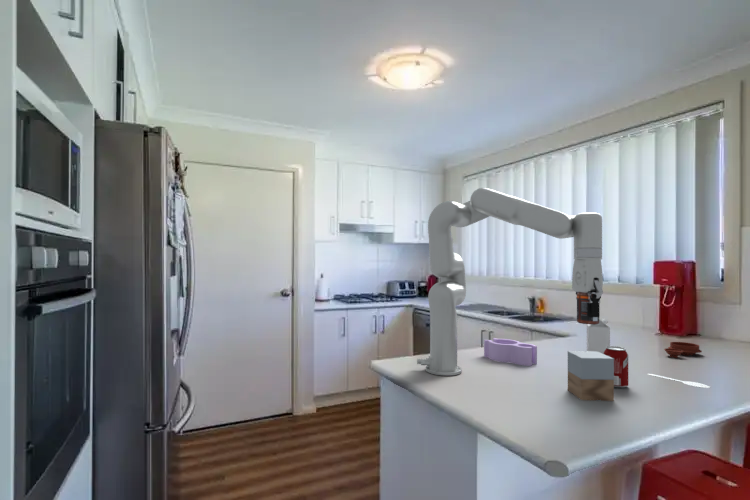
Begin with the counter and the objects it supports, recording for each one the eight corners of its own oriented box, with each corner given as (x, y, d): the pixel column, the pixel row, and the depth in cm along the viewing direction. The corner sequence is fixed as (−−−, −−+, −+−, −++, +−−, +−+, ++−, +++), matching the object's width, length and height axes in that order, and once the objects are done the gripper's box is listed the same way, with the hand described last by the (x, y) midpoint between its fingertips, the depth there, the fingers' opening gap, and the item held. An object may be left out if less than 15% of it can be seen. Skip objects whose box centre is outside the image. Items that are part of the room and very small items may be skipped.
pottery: (706, 355, 175) (706, 344, 176) (687, 361, 164) (687, 350, 165) (674, 350, 185) (674, 340, 185) (654, 355, 174) (654, 345, 174)
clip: (542, 362, 159) (542, 344, 159) (525, 368, 151) (525, 349, 151) (497, 353, 174) (497, 337, 174) (480, 357, 166) (480, 340, 166)
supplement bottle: (602, 325, 118) (602, 286, 118) (580, 324, 119) (580, 285, 119) (595, 322, 123) (595, 284, 124) (574, 321, 125) (574, 284, 125)
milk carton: (588, 366, 153) (588, 315, 154) (586, 362, 160) (586, 313, 160) (610, 368, 151) (610, 317, 151) (607, 364, 157) (607, 314, 158)
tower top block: (581, 379, 116) (581, 358, 116) (567, 370, 125) (567, 351, 125) (613, 379, 116) (613, 358, 116) (597, 371, 125) (597, 351, 125)
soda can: (620, 390, 125) (619, 350, 125) (599, 384, 131) (599, 346, 131) (633, 387, 128) (633, 349, 129) (612, 381, 134) (612, 344, 135)
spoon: (651, 373, 146) (651, 372, 146) (713, 387, 130) (713, 385, 130) (643, 375, 143) (643, 374, 143) (706, 390, 127) (706, 388, 127)
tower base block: (581, 400, 116) (581, 379, 116) (567, 390, 125) (567, 370, 125) (613, 401, 116) (613, 380, 116) (597, 391, 125) (597, 371, 125)
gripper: (563, 254, 130) (563, 311, 130) (588, 254, 113) (588, 319, 113) (587, 255, 130) (587, 312, 130) (616, 254, 113) (616, 319, 112)
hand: (587, 314), depth 121 cm, fingers closed on supplement bottle, 6 cm apart
